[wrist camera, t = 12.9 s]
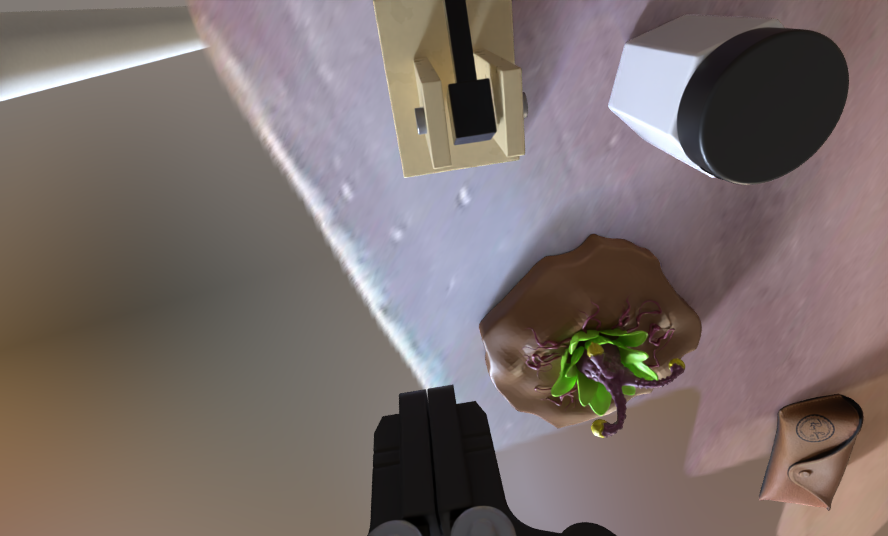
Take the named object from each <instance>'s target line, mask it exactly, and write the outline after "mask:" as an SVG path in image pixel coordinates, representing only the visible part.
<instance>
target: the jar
mask: <svg viewBox="0 0 888 536" xmlns="http://www.w3.org/2000/svg"><path fill="white" fill-rule="evenodd" d="M848 88H849V73H848V67H847V63H846V60H845V58H844V55H843V53H842V52H841V50H840V48H839V47H838V46H837V45H836V44H835V43H834V42H833V41H832V40H831V39H830V38H828V37H827V36H825V35H823V34H821V33H818V32H815V31H811V30H803V29H789V28H785V27H784V26H783V25H782V23H781V22H780V21H779V20H778V19H776V18H757V17H736V16H715V15H693V14H685V15H683V16H681V17H679V18H676V19H674V20H672V21H670V22H668V23H666V24H663V25H661V26H659V27H657V28H655V29H653V30H650V31H648V32H646V33H644V34H642V35H639V36H637V37H635V38H633V39H631V40H629V41H627V42H626V43H625V46H624V49H623V53H622V56H621V60H620V64H619V67H618V71H617V75H616V78H615V82H614V86H613V89H612V93H611V97H610V100H609V104H608V107H609V109H610V110H612V111H613V112H614V113H615V114H616V115H617V116H618V117H619V118H620V119H622V120H623V121H624V122H625V123H626V124H627V125H628V126H629V127H630V128H632V129H633V130H634V131H635V132H636V133H637V134H638V135H639V136H640V137H641V138H643V139H644V140H645V141H646V142H648V143H650V144H652V145H654V146H655V147H657V148H659V149H661V150H663V151H664V152H666V153H668V154H670V155H672V156H673V157H675V158H677V159H679V160H681V161H682V162H684V163H686V164H688V165H690V166H692V167H693V168H695V169H697V170H699V171H701V172H702V173H704V174H706V175H708V176H710V177H712V178H713V177H716V178H719V179H722V180H725V181H727V182H731V183H735V184H741V185H754V184H760V183H765V182H769V181H772V180H774V179H777V178H779V177H782V176H784V175H786V174H788V173H790V172H791V171H793V170H794V169H796V168H798V167H799V166H800V165H802V164H803V163H804V162H806V161H807V160H808V159H809V158H810V157H811V156H812V155H813V154H815V153H816V152H817V150H818V149H819V148H820V147H821V146H822V145H823V144H824V142H825V141H826V140H827V139H828V137H829V136H830V134H831V133H832V131H833V130H834V128H835V126H836V125H837V123H838V121H839V119H840V116H841V114H842V112H843V109H844V106H845V103H846V99H847V95H848Z"/></svg>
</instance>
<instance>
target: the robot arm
mask: <svg viewBox="0 0 888 536" xmlns="http://www.w3.org/2000/svg"><path fill="white" fill-rule="evenodd" d="M428 402H429V403H428ZM367 536H616V535H615V534H613V533H612V532H611V531H609V530H608V529H606V528H605V527H603V526H600V525H598V524H594V523H588V522H582V523H576V524H573V525H571V526H569V527H568V528H566V529H565V530H564V531H563V532H562V533H555V532H550V531H543V530H539V529H534V528H532V527H529V526H527V525H525V524H524V523H522V522H521V521H520V520H518V519H517V518H516V517H515V516H514V515H513V513H512V512H511V511H510V509H509V507H508V505H507V502H506V499H505V494H504V490H503V486H502V481H501V477H500V473H499V468H498V463H497V459H496V455H495V450H494V446H493V441H492V437H491V433H490V428H489V424H488V419H487V415H486V413H485V412H484V411H483V410H482V408H481V407H480V406H479V405H478V404H477V402H476V401H472V402H466V403H460V404H456V399H455V393H454V386H453V385H448V386H442V387H436V388H430V389H428V398H427V393H426V389H424V390H418V391H413V392H407V393H400V394H399V414H394V415H388V416H383V417H382V419H381V421H380V423H379V425H378V427H377V429H376V431H375V433H374V455H373V474H372V498H371V522H370V529H369V533H368V535H367Z"/></svg>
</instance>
